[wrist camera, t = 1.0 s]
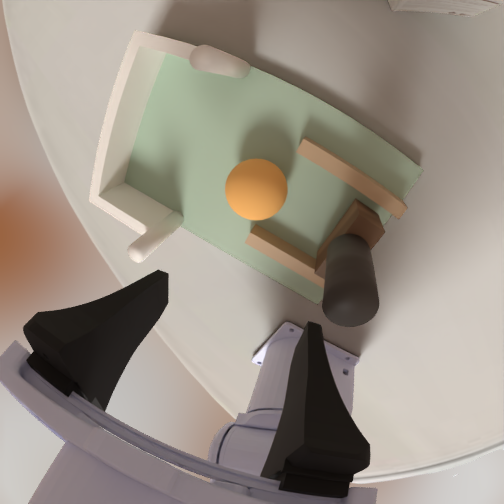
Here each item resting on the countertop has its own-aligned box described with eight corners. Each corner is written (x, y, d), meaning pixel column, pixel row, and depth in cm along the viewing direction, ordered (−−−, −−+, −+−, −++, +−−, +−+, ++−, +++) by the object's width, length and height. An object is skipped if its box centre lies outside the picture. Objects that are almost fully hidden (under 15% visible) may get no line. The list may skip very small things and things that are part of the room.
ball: (302, 171, 18) (294, 188, 15) (275, 217, 21) (262, 242, 17) (250, 143, 18) (231, 153, 15) (227, 190, 21) (206, 210, 17)
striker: (382, 216, 18) (405, 284, 11) (343, 266, 21) (342, 345, 14) (350, 195, 18) (360, 253, 11) (312, 248, 21) (299, 323, 14)
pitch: (420, 164, 17) (459, 196, 11) (317, 298, 24) (308, 359, 19) (160, 34, 16) (100, 21, 10) (113, 181, 24) (60, 209, 18)
